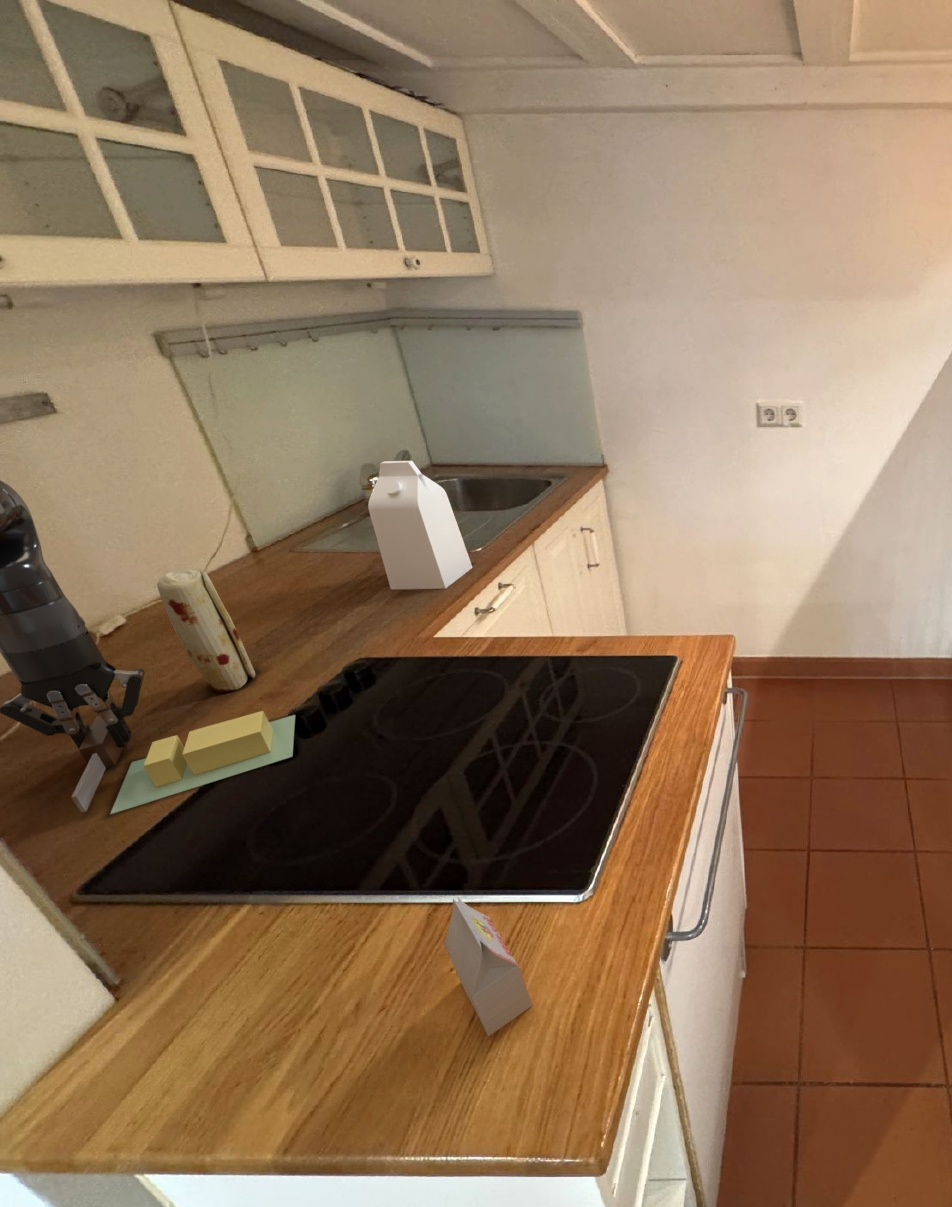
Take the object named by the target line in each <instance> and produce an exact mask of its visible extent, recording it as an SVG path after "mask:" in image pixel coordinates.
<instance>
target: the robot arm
mask: <svg viewBox="0 0 952 1207" xmlns="http://www.w3.org/2000/svg"><path fill="white" fill-rule="evenodd" d="M0 655H1V657H2V658H3V659H4V661H5V662H6V664H7V666H8V667H9V669H10V670H11V672H12V673H13V675H14V677H15V678H16V679H17V680H18V682H19V683H20V689H19V694H17V695H16V696H14V697H13V696H12V697H8V698H7V699H6V700H5V702H4V703H3V704H2V705H1V706H0V714H1V715H4V716H5V717H8V718H10V719H12V720H14V721H16V722H18V723H20V724H23V725H24V726H26V727H28V728H29V729H33V730H34V731H37V732H39V733H41V734H43V735H44V736H48V737H51V736H54V735H57V734H65V735H68V736H70V738H71V739H72V741H73V743H74V744H75V746H76V748H77V749H78V750H79V748H80V746H81V744H82V743H83V741H84V739H85V737H86V735H87V734H88V732H89V730H90V727H91V726H89V724H85V720H84V718H83V716H82V713H81V711H80V707H82V706H89V707H90V708H91V710H92V711H93V712H94V713H95V714H98V716H101V718H102V719H103V720H104V721H105V723H107V725H106V728H107V730H108V731H109V733H110V734H111V736H112V738H113V739H114V741H115V743H116V744H117V746H118V747H119V748H120V747H123V748H124V747H127V745H128V744H129V742H130V740H131V738H132V730H131V728H130V727H129V725H128V724H127V722H126V720H125V718H126V717H130V716H132V715H133V714H134V713H135V709H136V707H137V706H138V702H139V698H140V695H141V690H142V686H143V681H144V678H145V674H146V672H145V670H144V669H142V668H135V669H133V670H123V669H117V668H116V667H115V666H114V665H112V664H110V663H109V662H108V661H107V660H106V659H105V658H104V656H103V653H102V652H101V650H100V649H99V647H98V645H97V643H96V642H95V640H94V638H93V636H92V635H91V633H90V631H89V630H88V628H87V626H86V622H85V620H84V618H83V617H82V616H81V615H80V614H79V612H78V610H77V609H76V607H75V606H74V605H73V604H72V602H71V601H70V600H69V599H68V598H67V596H66V595H65V593H64V592H63V589H62V588H61V586H60V584H59V583H58V581H57V579H56V577H55V576H54V573H53V572H52V571H51V569H50V567H49V566H48V565H47V563H46V561H45V559H44V556H43V551H42V546H41V541H40V538H39V535H38V532H37V528H36V525H35V522H34V519H33V516H32V513H31V511H30V509H29V507H28V505H27V503H26V502H25V500H24V499H23V498H22V496H21V495H20V494H19V492H17V491H16V489H14V488H13V487H12V486H11V485H9V484H8V483H6V482H5V481H3V480H1V479H0ZM114 680H116V681H118V683H119V686H120V687H121V688H124V689H125V692H124V697H123V701H122V703H121V705H118V704H117V703H116V701H115V699H114V697H113V695H112V694H111V693H110V691H109V690H110V688H111V686H112V684H113V681H114ZM35 702H36V703H38V704H41V705H43V706H46V707H49V708H51V709H53V711H54V713H55V715H52V714H50V713H48V712H47V711H45V710H43V709H40V708H39V707H36V706H35Z"/></svg>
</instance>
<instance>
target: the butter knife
mask: <svg viewBox="0 0 952 1207" xmlns="http://www.w3.org/2000/svg"><path fill="white" fill-rule="evenodd" d="M106 725H107V723H105V721H104V720H103V719H102V718H101V716H100V715H97V716H96V717H95V718H94V720H93V722H92V724H91V726H89V727H90V730H89V732H88V734H87V735H86V737H85V739H84V741H83V743H82V744H81V746H80V748H79V749H78V751H79V753H80V754H81V756H82V757H83V759H84V761H85V763H86V766H85V768H84V771H83V772H82V775H81V776H80V779H79V780H78V782H77V785H76V787H75V789H74V791H73V792H72V795H71V799H72V801H73V802H74V804H75V806H76V807H77V808H78V810H79V812H80V813H81V814H84V813H87V812H88V810H89V807H90V805H91V802H92V800H93V798H94V796H95V794H96V792H97V789H98V787H99V785H100V782H101V781H102V778H103V776H104V773H105V772H106V769H107V768H110V767H114V766H116V765H117V762H118V760H119V758H120V755H121V753H122V752H123V748H124V747H120V748H119V747H118V746H117V744H116V743H115V741H114V739H113V738H112V736H111V734H110V733H109V731H108V730H107V728H106Z"/></svg>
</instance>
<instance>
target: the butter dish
mask: <svg viewBox="0 0 952 1207" xmlns="http://www.w3.org/2000/svg"><path fill="white" fill-rule="evenodd" d="M269 723H270V726H271V728H272V730H273V734H272V742H271V751H270V752H269V753H265V754H262V755H259V756H256V757H252V758H249V759H246V760H243V761H239V762H236V763H233V764H230V765H227V766H223V767H220V768H217V769H214V770H210V771H207V772H204V773H201V774H197V775H194V774H193V772H192V771H191V769H190V767H189V765H188V764H187V763H186V767H185V770H184V774H183V777H182V779H181V780H178V781H175V782H172V783H168V784H165V785H162V786H159V787H156V786H155V784H154V782H153V781H152V779H151V778H150V776H149V774H148V773H147V771H146V769H145V768H144V766H143V765H144V763H145V760H146V758H147V757H145V758H142V759H139V760H135V761H132V762H131V763H130V765H129V767H128V769H127V773H126V774H125V777H124V780H123V782H122V784H121V787H120V789H119V792H118V794H117V797H116V799H115V802H114V804H113V806H112V808H111V811H110V813H109V815H113V814H117V813H120V812H123V811H125V810H129V809H132V808H135V807H139V806H141V805H144V804H148V803H150V802H153V801H157V800H161V799H163V798H167V797H169V796H172V795H173V796H174V795H176V794H179V793H183V792H185V791H188V790H192V789H195V788H198V787H201V786H204V785H205V786H206V785H208V784H210V783H214V782H217V781H220V780H224V779H226V778H227V779H228V778H231V777H233V776H236V775H240V774H243V773H246V772H248V771H249V772H250V771H252V770H255V769H259V768H262V767H264V766H267V765H270V764H274V763H277V762H281V761H283V760H286V759H290V758H293V755H294V740H295V729H296V728H295V727H296V726H295V725H296V714H292V715H289V716H286V717H282V718H279V719H276V720H272V721H269Z"/></svg>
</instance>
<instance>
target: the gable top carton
mask: <svg viewBox="0 0 952 1207" xmlns="http://www.w3.org/2000/svg"><path fill="white" fill-rule="evenodd" d="M456 898H457V900H456V899H454V898H452V910H451V917H450V921H449V925H448V929H447V932H446V937H445V942H444V946H445V949H446V951H447V954H448V955H449V958H450V961H451V962H452V965H453V967H454V970H455V973H456V974H457V976H458V979H459V982H460V984H461V986H462V988H463V990H464V992H465V994H466V995H467V998H468V1000H469V1001H470V1003H471V1006H472V1007H473V1009H474V1012H475V1013H476V1015H477V1017H478V1020H479V1022H480V1023H481V1025H482V1027H483V1029H484V1031H485V1033H486V1035H487V1037H490V1036H491V1035H493V1034H494V1033H496V1032H497V1031H499V1030H500V1029H502V1028H503V1027H505V1026H506V1025H507V1024H508V1023H510V1022H511V1021H513V1020H514V1019H515V1018H517V1017H518V1016H520V1015H521V1014H522V1013H524V1012H525V1011H527V1010H529V1008H531V1007H532V1006H533V1003H532V999H531V997H530V994H529V991H528V988H527V986H526V982H525V980H524V977H523V974H522V971H521V968H520V966H519V963H517V961H516V959H515V958H514V956H513V954H512V953H511V951H510V949H509V948H508V947H507V945H506V943H505V941H504V940H503V938H502V937H501V936H502V935H500V933H499V931H498V930H497V929H496V927H495V924H494V923H493V921H492V920H491V919H490V917H489V916H487V915H485V914H484V913H482V912H480V911H478V910H476V909H475V908H472V907H471V906H469V905H468V904H466V903H465V902H464V901H462V900H461V898H460V897H459V896H456Z"/></svg>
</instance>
